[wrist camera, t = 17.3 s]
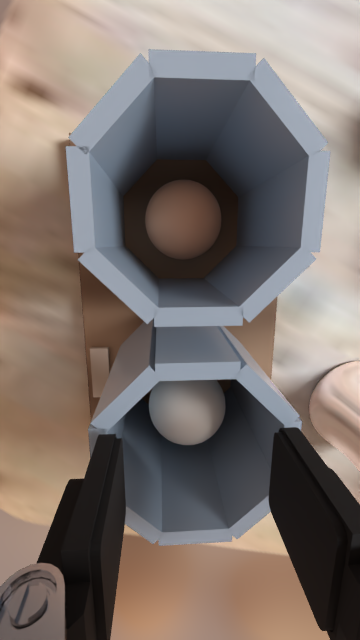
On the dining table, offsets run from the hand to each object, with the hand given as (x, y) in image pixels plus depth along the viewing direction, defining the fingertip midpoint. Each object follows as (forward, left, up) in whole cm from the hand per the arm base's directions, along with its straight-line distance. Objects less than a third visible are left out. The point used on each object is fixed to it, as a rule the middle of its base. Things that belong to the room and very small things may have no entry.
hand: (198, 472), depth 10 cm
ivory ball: (0, 0, -6) cm, 6 cm away
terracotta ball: (-8, 0, -9) cm, 12 cm away
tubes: (-4, 0, -9) cm, 10 cm away
